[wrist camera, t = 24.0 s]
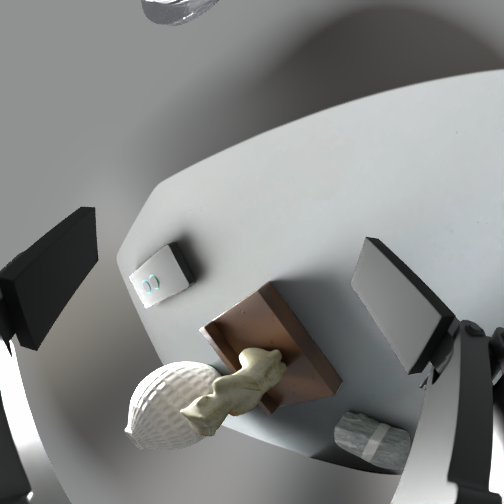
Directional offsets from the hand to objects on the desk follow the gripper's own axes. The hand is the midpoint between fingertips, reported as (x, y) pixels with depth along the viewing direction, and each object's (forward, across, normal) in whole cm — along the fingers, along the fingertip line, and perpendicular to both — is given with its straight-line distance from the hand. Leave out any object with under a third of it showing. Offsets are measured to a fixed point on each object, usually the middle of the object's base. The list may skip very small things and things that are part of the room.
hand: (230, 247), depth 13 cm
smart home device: (+37, -10, -24) cm, 45 cm away
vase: (+29, +2, -43) cm, 52 cm away
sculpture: (+17, +9, -24) cm, 31 cm away
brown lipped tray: (+19, +10, -24) cm, 32 cm away
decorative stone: (+7, +27, -32) cm, 42 cm away
